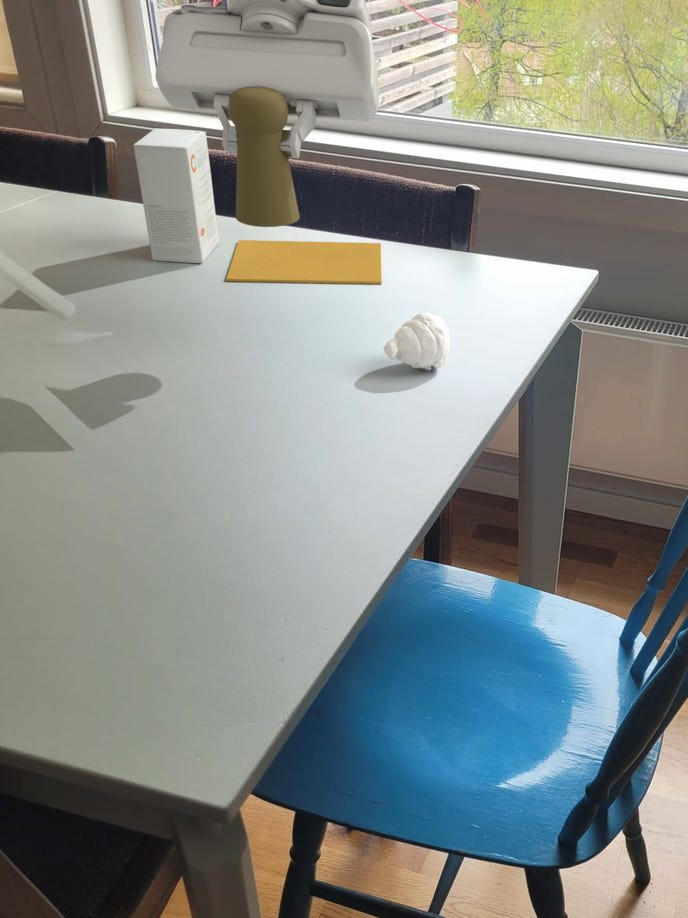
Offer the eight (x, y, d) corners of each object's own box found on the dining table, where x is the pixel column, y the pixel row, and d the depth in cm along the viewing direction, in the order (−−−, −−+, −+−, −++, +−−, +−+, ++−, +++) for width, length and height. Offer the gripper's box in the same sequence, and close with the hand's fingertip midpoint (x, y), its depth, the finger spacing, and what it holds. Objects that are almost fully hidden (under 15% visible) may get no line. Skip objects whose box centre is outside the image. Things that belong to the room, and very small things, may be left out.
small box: (170, 239, 126) (154, 127, 118) (220, 243, 126) (207, 130, 118) (150, 261, 120) (131, 143, 112) (202, 264, 120) (187, 147, 111)
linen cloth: (226, 281, 116) (226, 278, 116) (238, 242, 127) (238, 239, 126) (381, 284, 117) (381, 281, 117) (380, 245, 128) (380, 243, 128)
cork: (223, 213, 95) (209, 84, 88) (278, 204, 98) (269, 78, 91) (255, 230, 92) (243, 98, 85) (311, 220, 95) (304, 91, 88)
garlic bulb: (373, 366, 100) (372, 312, 96) (424, 354, 102) (425, 302, 99) (400, 387, 96) (400, 332, 93) (452, 375, 99) (454, 321, 96)
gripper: (155, -22, 89) (136, 123, 88) (380, -7, 89) (365, 139, 87) (178, 28, 96) (160, 164, 94) (388, 43, 95) (374, 179, 94)
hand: (260, 152), depth 91 cm, fingers closed on cork, 4 cm apart
